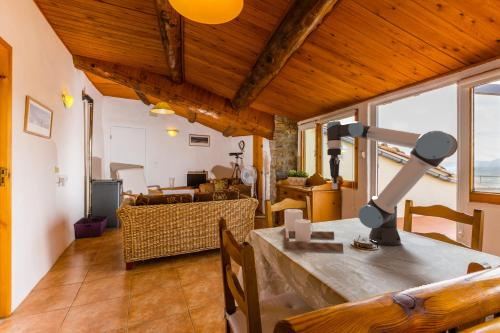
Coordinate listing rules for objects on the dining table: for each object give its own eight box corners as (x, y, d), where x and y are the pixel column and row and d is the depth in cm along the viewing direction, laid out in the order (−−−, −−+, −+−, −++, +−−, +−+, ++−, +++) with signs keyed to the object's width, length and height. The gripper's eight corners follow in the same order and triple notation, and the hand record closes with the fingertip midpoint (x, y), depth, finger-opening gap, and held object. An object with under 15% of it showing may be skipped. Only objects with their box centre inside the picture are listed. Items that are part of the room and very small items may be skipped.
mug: (308, 238, 136) (308, 217, 136) (319, 242, 129) (318, 220, 128) (291, 241, 131) (291, 220, 131) (301, 246, 123) (301, 223, 123)
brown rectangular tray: (333, 237, 138) (333, 228, 138) (343, 250, 117) (343, 240, 117) (284, 235, 141) (284, 227, 141) (285, 248, 120) (285, 238, 120)
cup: (284, 230, 152) (284, 212, 152) (284, 226, 164) (284, 208, 163) (303, 231, 150) (303, 212, 150) (302, 226, 162) (302, 209, 161)
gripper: (324, 149, 144) (325, 188, 144) (330, 147, 131) (331, 190, 131) (337, 149, 144) (337, 187, 144) (344, 147, 131) (345, 190, 131)
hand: (334, 188), depth 138 cm, fingers closed
